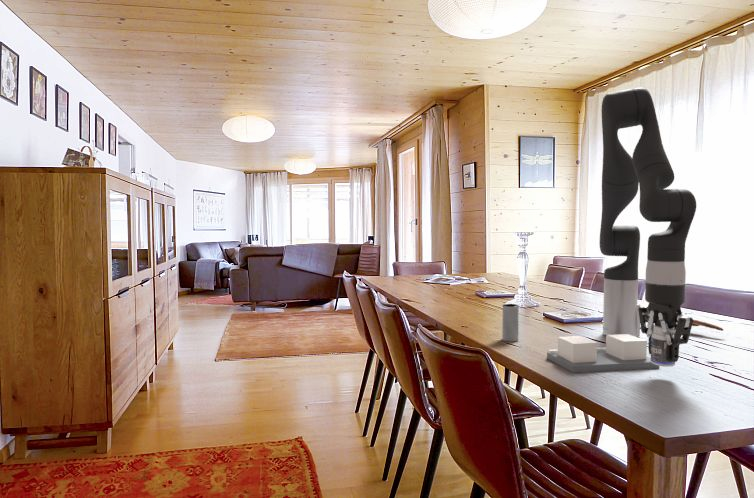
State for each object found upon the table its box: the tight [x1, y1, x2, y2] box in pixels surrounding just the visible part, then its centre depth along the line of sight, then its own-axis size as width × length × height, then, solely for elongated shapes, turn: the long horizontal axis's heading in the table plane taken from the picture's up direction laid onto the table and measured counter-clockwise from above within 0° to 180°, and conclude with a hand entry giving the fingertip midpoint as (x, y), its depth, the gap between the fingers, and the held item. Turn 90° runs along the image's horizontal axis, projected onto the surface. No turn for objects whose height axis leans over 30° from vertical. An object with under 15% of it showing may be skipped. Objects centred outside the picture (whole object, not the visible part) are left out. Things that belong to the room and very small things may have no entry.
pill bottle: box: [650, 325, 676, 368], centre depth 108 cm, size 5×5×8 cm
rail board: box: [546, 334, 660, 373], centre depth 120 cm, size 22×12×6 cm, turn 99°
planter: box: [501, 303, 520, 343], centre depth 144 cm, size 4×4×10 cm
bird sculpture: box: [692, 319, 724, 332], centre depth 155 cm, size 7×25×5 cm, turn 41°
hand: (662, 357), depth 109 cm, fingers closed on pill bottle, 4 cm apart
